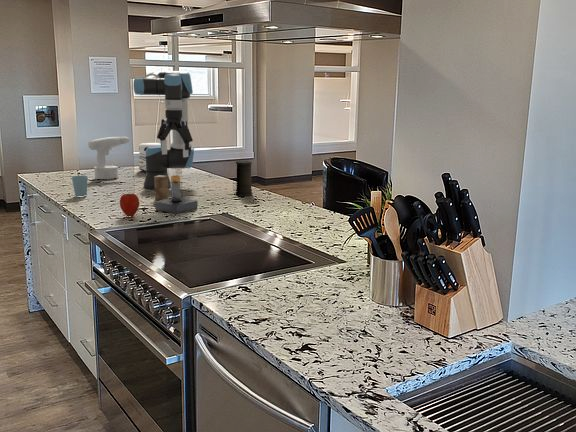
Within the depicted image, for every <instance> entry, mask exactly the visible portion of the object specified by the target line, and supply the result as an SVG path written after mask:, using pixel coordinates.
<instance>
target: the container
mask: <svg viewBox="0 0 576 432" xmlns="http://www.w3.org/2000/svg"><path fill="white" fill-rule="evenodd" d="M235 164H236V189H235V196H236V197H237V196H238V197H251V196H252V195H253V190H252V186H253V185H252V164H253V162H252V161H250V160H238V161H236V162H235Z"/></svg>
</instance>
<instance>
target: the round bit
mask: <svg viewBox="0 0 576 432" xmlns="http://www.w3.org/2000/svg"><path fill="white" fill-rule="evenodd" d="M170 182H171V187H170V188H171V198H172V202H181V200H180V198H181V175H171V177H170Z"/></svg>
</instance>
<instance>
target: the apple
mask: <svg viewBox="0 0 576 432" xmlns="http://www.w3.org/2000/svg"><path fill="white" fill-rule="evenodd" d="M119 207H120V209H121V211H122V212H123V214H124V215H125V216H126V217H127V216H133V217H134V216H135V214H136V213H137V211H138V210H139V207H140V199H139V196H137V194H135V193H125V194H122V195H121V196H120V198H119Z"/></svg>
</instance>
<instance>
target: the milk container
mask: <svg viewBox="0 0 576 432" xmlns="http://www.w3.org/2000/svg"><path fill="white" fill-rule="evenodd" d="M157 145H161V142H143V143H139V144H138V151H139V157H138V158H139V160H138V169H139V170H140V171H141V172H144V173H146V157H145V156H146V149H147V148H148V147H152V146H157Z"/></svg>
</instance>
